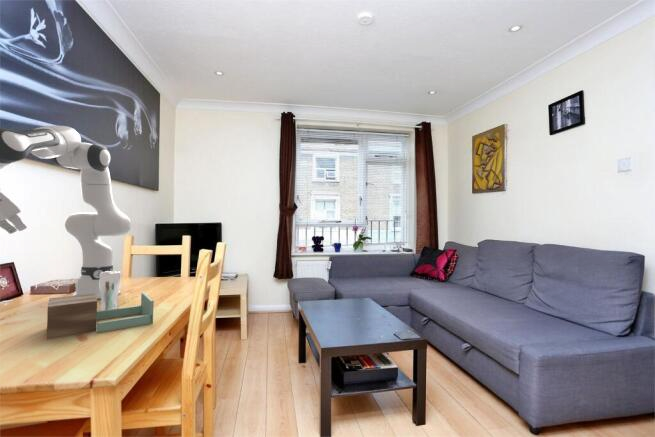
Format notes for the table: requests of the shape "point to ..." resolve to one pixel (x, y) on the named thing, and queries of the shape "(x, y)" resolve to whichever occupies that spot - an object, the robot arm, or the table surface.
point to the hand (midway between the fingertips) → (18, 231)
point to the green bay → (143, 309)
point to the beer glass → (109, 289)
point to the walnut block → (71, 315)
